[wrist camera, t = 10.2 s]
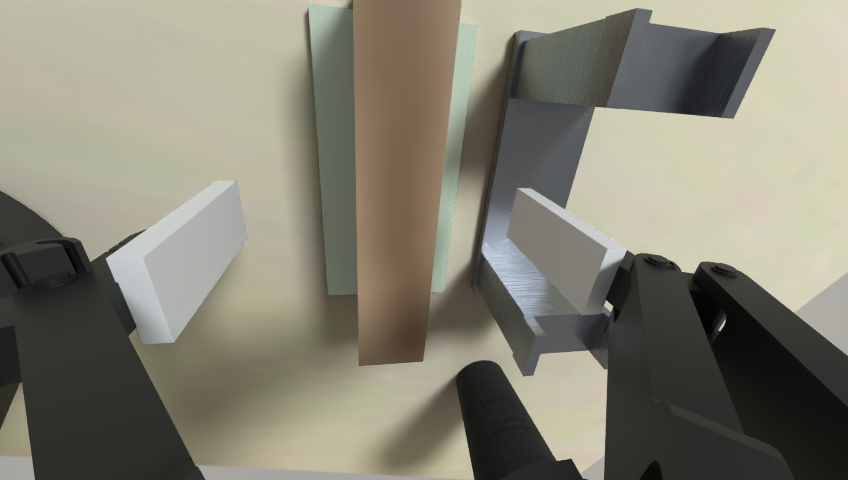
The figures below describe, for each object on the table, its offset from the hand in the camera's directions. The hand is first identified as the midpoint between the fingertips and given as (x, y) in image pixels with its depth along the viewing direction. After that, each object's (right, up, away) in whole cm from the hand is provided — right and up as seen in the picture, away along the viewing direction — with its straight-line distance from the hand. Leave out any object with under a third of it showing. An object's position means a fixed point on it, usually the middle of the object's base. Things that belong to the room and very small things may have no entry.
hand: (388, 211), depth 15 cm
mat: (0, +3, +6) cm, 7 cm away
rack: (+9, +3, +8) cm, 12 cm away
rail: (0, +3, +5) cm, 6 cm away
